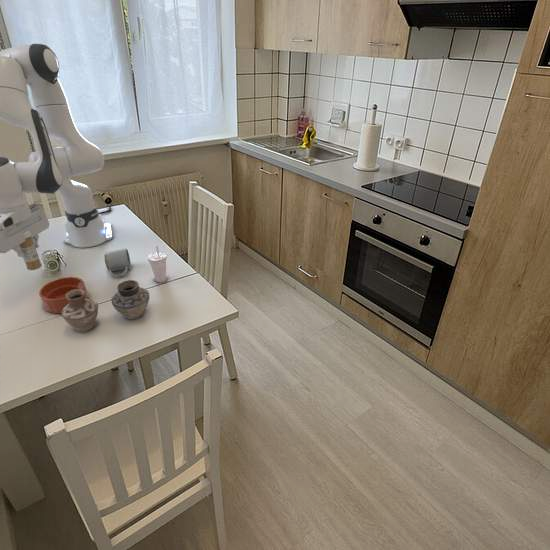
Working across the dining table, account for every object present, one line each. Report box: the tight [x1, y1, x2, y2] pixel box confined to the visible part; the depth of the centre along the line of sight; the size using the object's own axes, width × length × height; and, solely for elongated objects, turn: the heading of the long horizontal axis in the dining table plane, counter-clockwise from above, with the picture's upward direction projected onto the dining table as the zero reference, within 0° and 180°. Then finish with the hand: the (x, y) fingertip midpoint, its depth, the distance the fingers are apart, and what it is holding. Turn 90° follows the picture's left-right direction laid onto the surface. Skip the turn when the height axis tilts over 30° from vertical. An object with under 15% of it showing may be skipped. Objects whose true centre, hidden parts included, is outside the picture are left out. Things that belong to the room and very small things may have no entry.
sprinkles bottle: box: [19, 231, 43, 271], centre depth 128 cm, size 5×5×14 cm
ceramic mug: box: [103, 248, 132, 279], centre depth 144 cm, size 11×8×8 cm
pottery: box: [61, 279, 150, 333], centre depth 119 cm, size 11×25×12 cm, turn 117°
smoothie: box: [147, 244, 168, 283], centre depth 138 cm, size 6×6×14 cm
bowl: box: [38, 276, 89, 314], centre depth 128 cm, size 13×13×6 cm
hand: (28, 252), depth 128 cm, fingers closed on sprinkles bottle, 4 cm apart
